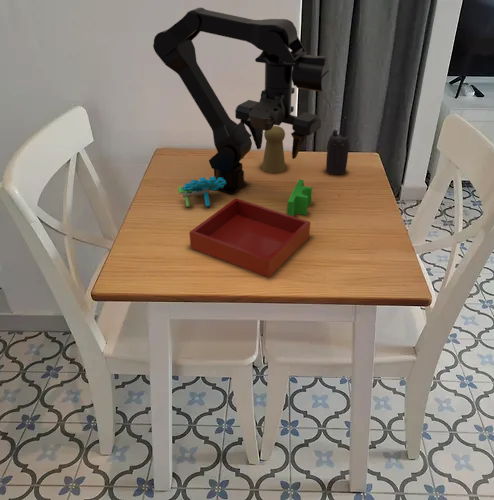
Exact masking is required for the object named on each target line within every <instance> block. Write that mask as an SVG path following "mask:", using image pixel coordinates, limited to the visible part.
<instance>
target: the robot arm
mask: <svg viewBox="0 0 494 500" xmlns="http://www.w3.org/2000/svg"><path fill="white" fill-rule="evenodd" d="M201 32H202V33H207V34H212V35H216V36H221V37H225V38H229V39H234V40H238V41H242V42H247V43H249V44H251V45H252V46H254V47H255V48H256V49H257V50H260V51H261V53H260V54H259V55H258V56H257V57H256V58H254V60H255V62H256V63H262V64H264V89H263V90H261V93H260V99H259V101H256V100H252V99H247V100H246V101H243V102H241V103H240V104H238V105H237V106H236V107H235V110H234V114H235V115H234V116H235V119H236V120H239V121H240V122H239V123H237V122H236V121H234V120H233V119H231V117H230V116H229V114H228V112H227V111H226V109H225V108H224V106H223V104H222V102H221V101H220V99H219V97H218V96H217V95H216V92H215V91H214V89H213V87H212V86H211V84H210V83H209V81H208V79H207V77H206V76H205V74H204V72H203V70H202V69H201V67H200V65H199V64H198V61H197V54H196V47H195V45H194V43H193V40H194V39H195V38H196V37H197V36H198V35H199V34H200V33H201ZM152 48H153V51H154V53H155V54H156V55H157V56H158V58H159V59H160V60H161V61H162V63H163V64H164V65H165V66H166V67H167V68H169V69H170V70H172V71H173V72H175V74H177V75H178V76H179V78H180V80H181V81H182V83H183V84H184V86H185V88H186V90H187V91H188V92H189V94H190V96H191V98H192V99H193V101H194V103H195V104H196V106H197V108H198V109H199V110H200V112H201V114H202V115H203V117H204V119H205V120H206V122H207V124H208V125H209V127H210V129H211V131H212V136H213V145H214V147H215V149H216V153H215V154H214V155H213V156H212V157H211V158H210V159H208V163H209V165H210V168H211V169H212V170H213V177H214V176H215V177H216V180H217V179H218V178H219V177H221V178H223V179H224V180H226V185H224V188H218V190H217V191H220V192H223V193H226V194H229V195H233V194H235V193H236V192H238V191H239V190H240V189H242V188H243V187H245V186H246V185H247V182H246V181H245V171H244V170H243V163H242V162H240V161H241V160H242V159H244V158H245V156H246V155H248V154H249V152H250V151H251V149H252V145H253V141H254V144H255V147H256V149H257V150H261V148H262V145H263V136H264V132H265V131H268V130H270V129H272V127H273V126H279V127H280V126H281V124H282V123H283V124H286V125H291V126H292V127H291V129H292V131H293V132H291V133H290V134H291V137H292V139H293V140H292V148H291V158H292V160H294V159H296V158H297V157H298V154H299V152H300V150H301V148H302V146H303V144H304V142H305V140H306V138H307V137H308V136H311V135H313V134H314V133H316V132H317V131H318V130H320V129H321V128H322V127H321V126H322V120H321V118H320V116H319V115H317V114H314V113H309V112H305V111H304V112H303V113H301V114H300V115H298V116H297V115H293V114H291V113H293V112H294V110H295V109H294V108H295V106H293V105H292V95H293V94H295V89H296V88H297V89H299V90H307V91H315V92H321V93H324V92H326V90H327V88H328V85H329V81H330V75H331V74H330V73H331V71H330V66H329V62H328V56H326V55H310V54H307V50H306V48H305V47H304V45H303V43H302V41H301V40H300V38H299V36H298V31H297V27H296V26H295V24H294V22H292V21H291V20H290V19H286V18H265V19H253V18H247V17H244V16H243V17H241V16H237V15H233V14H228V13H223V12H218V11H214V10H209V9H206V8H204V7H196V8H193V9H190V10H189V11H187V13H186V14H185V15H184V16H183V17H182V18H181V19H180V20H178V21H177V22H176V23H174V24H173V25H172V26H170V27H169V28H168V29H165V30H163V31H160V32H157V34H156V35H155V36H154V39H153V45H152ZM290 50H291V51H290ZM293 86H294V87H293ZM295 87H296V88H295ZM246 127H247V128H248V129H249V131H250V132H249V131H248V130H247V128H246ZM251 137H252V139H253V141H252V139H251Z"/></svg>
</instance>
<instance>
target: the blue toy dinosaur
mask: <svg viewBox="0 0 494 500" xmlns="http://www.w3.org/2000/svg"><path fill="white" fill-rule="evenodd" d="M183 184H184V186H178V187H177V191H178V194H179V195H180V194H181V195H182V198H184V200H185V205H186V208H189V207H190V205H191V204H190V199H189V198H191V197H192V198H193V197H197V196H203V197H204V203H205V207H206V208H208V207H211V201H210V195H209V194H210V191H213V192H217V191H219V190H218V188H224V185H226V180H224V179H223V178H221V177H219V178H218V179H217V180H216V177H215V176H214V175H213V176H209V179H207V178H206V177H205V176H202V177H200V178H199V180H196V179H191V180H189V182H186V183H183Z"/></svg>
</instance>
